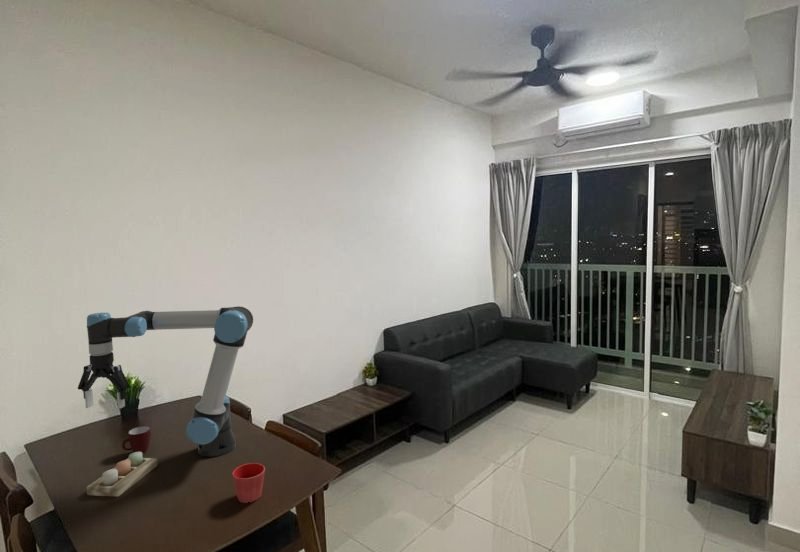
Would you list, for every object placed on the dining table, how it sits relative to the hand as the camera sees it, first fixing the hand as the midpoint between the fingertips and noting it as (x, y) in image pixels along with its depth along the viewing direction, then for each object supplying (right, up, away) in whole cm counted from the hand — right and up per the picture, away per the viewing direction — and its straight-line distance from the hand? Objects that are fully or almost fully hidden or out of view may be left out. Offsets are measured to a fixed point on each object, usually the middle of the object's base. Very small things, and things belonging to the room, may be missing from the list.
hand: (105, 407), depth 165 cm
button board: (+9, -27, -3) cm, 28 cm away
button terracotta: (+9, -24, -3) cm, 26 cm away
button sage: (+10, -23, +3) cm, 25 cm away
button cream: (+9, -24, -10) cm, 27 cm away
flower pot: (+61, -27, -15) cm, 69 cm away
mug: (+2, -25, +17) cm, 30 cm away
